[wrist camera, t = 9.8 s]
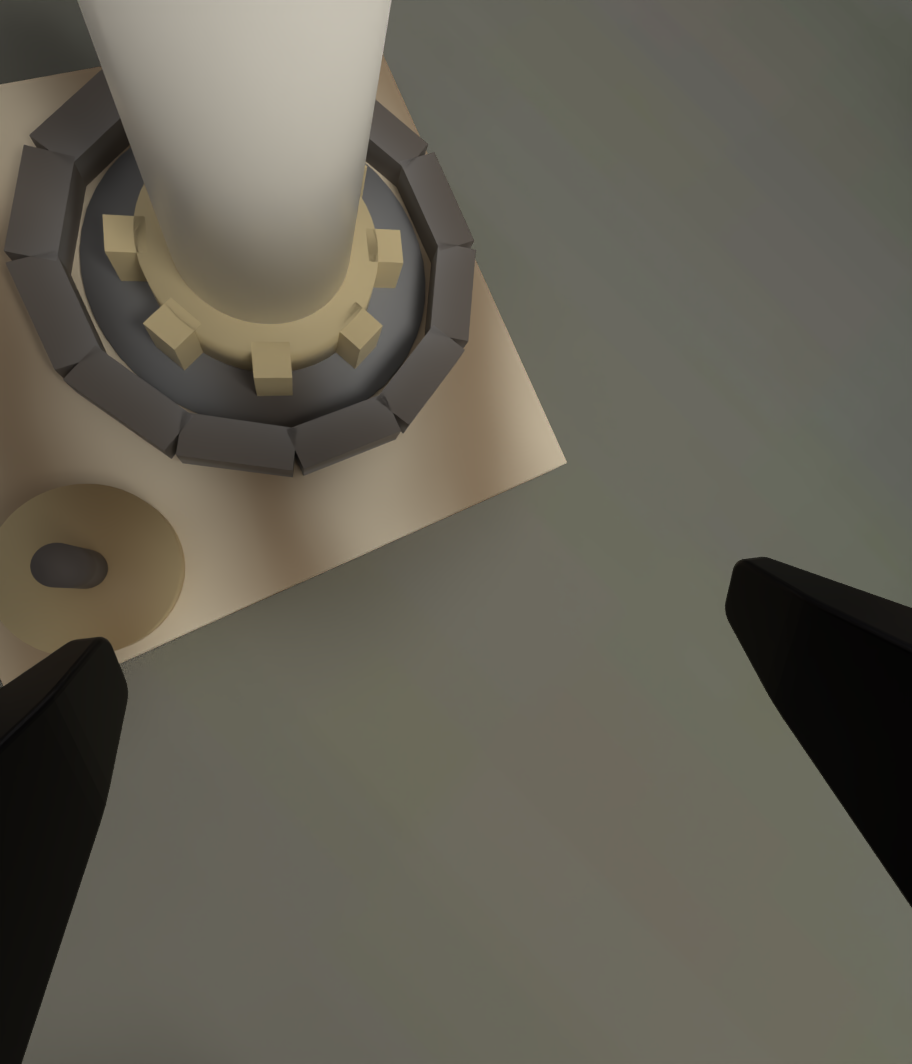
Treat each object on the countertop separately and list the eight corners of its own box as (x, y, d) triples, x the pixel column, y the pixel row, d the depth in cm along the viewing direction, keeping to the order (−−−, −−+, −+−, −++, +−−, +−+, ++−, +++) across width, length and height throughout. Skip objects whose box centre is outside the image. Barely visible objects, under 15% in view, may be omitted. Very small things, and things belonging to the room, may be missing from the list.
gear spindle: (279, 450, 18) (244, 131, 6) (54, 261, 17) (-583, -625, 5) (443, 274, 19) (681, -246, 7) (250, 95, 18) (165, -839, 6)
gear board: (38, 699, 17) (-45, 733, 13) (-207, 171, 17) (-373, 30, 12) (548, 471, 21) (608, 441, 17) (361, 57, 21) (377, -74, 17)
